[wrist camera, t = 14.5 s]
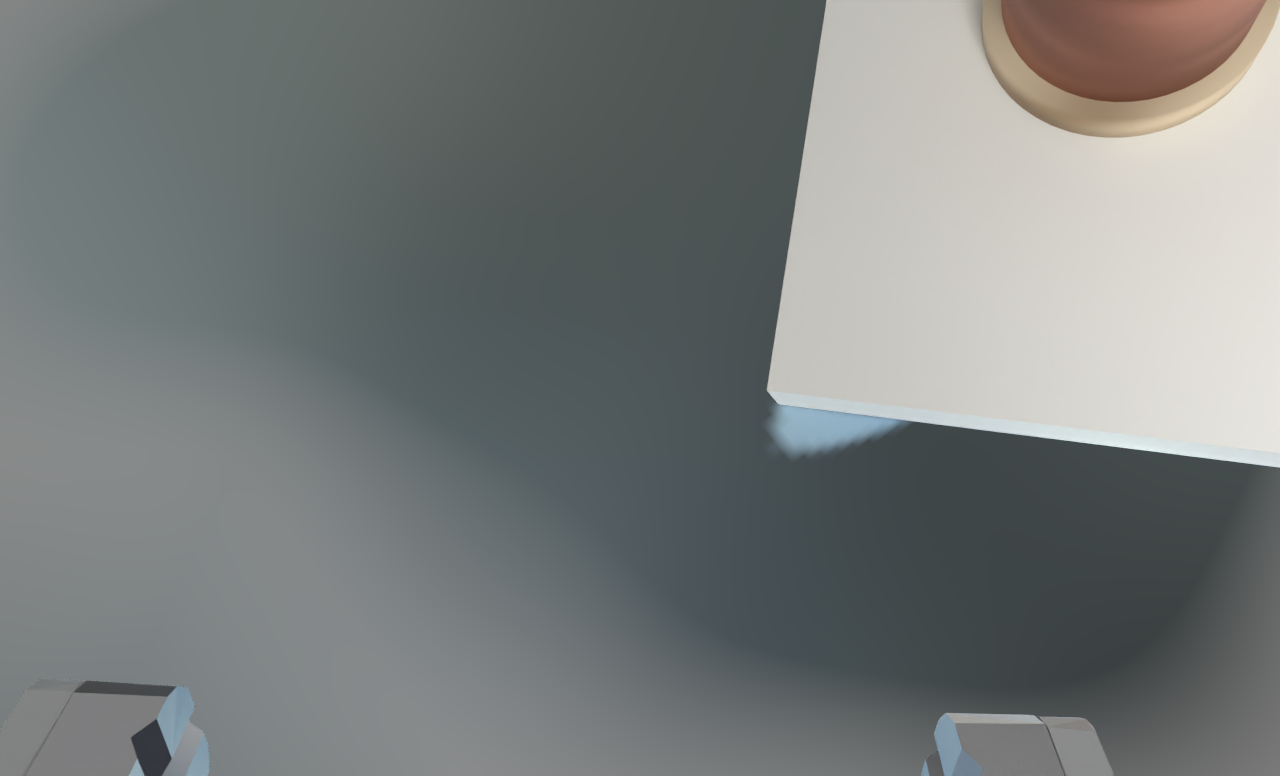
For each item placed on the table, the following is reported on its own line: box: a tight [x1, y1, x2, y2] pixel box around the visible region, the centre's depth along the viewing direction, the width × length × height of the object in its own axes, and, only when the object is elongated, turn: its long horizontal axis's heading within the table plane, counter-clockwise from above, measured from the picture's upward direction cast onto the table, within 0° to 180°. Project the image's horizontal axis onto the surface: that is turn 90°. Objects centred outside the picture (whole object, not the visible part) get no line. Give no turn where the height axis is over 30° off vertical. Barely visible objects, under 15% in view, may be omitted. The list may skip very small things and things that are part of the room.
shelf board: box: [767, 0, 1280, 467], centre depth 25 cm, size 14×20×2 cm
